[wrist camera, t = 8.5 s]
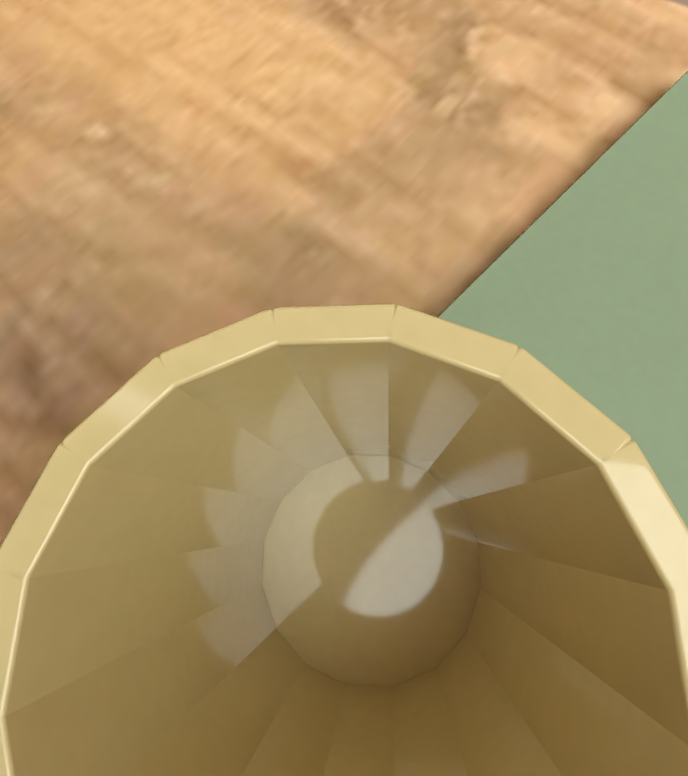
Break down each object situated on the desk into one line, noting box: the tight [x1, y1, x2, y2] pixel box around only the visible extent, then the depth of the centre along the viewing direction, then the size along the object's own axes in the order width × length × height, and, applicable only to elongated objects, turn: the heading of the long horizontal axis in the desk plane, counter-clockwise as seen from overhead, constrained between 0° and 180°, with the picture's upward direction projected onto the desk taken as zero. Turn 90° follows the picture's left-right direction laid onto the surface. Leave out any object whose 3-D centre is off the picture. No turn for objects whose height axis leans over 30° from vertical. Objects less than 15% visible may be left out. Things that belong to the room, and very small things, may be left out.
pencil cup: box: [0, 304, 688, 776], centre depth 10 cm, size 8×8×11 cm
